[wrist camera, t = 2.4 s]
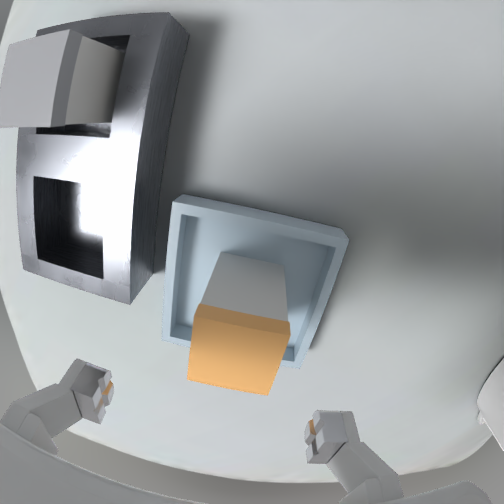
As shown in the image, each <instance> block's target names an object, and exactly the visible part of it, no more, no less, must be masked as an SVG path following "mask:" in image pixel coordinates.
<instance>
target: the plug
mask: <svg viewBox="0 0 504 504" xmlns="http://www.w3.org/2000/svg"><path fill="white" fill-rule="evenodd" d="M290 336H291V333H290V322H288V311H287V298H286V285H285V273H284V265H280V264H276V263H271V262H266V261H261V260H257V259H252V258H247V257H243V256H238V255H233V254H229V253H224V252H220V255H219V257H218V260H217V262H216V265H215V267H214V270H213V272H212V275H211V277H210V280H209V282H208V285H207V287H206V290H205V293H204V295H203V298H202V300H201V303H199V304H198V307H197V309H196V312H195V314H194V319H193V328H192V337H191V345H190V355H189V364H188V375H187V380H191V381H195V382H200V383H204V384H209V385H213V386H218V387H223V388H228V389H233V390H238V391H244V392H249V393H255V394H261V395H268V394H269V391H270V389H271V386H272V384H273V381H274V379H275V376H276V373H277V371H278V368H279V366H280V363H281V360H282V358H283V355H284V353H285V350H286V347H287V344H288V342H289V339H290Z"/></svg>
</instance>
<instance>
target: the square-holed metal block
mask: <svg viewBox="0 0 504 504" xmlns="http://www.w3.org/2000/svg"><path fill="white" fill-rule="evenodd" d="M69 29H70V30H73V31H76V32H78V33H81V34H83V36H85V37H87V38H90V39H92V40H95V41H97V42H100V43H102V44H105V45H107V46H110V47H112V48H114V49H117V50H119V51H121V52H124V53H125V58H124V62H123V66H122V70H121V75H120V80H119V85H118V90H117V95H116V100H115V106H114V112H113V118H112V123H85V124H67V125H65V126H57V127H19V130H18V143H17V165H16V194H17V216H18V229H19V240H20V248H21V256H22V263H23V269H24V270H26V271H29V272H32V273H34V274H37V275H40V276H43V277H45V278H48V279H51V280H54V281H57V282H59V283H62V284H65V285H68V286H71V287H74V288H77V289H80V290H83V291H86V292H90V293H93V294H96V295H99V296H102V297H106V298H109V299H112V300H115V301H119V302H122V303H126V304H129V305H130V304H131V303H132V301H133V300H134V299H135V297H136V296H137V295H138V293H139V292H140V291H141V289H142V288H143V286H144V285H145V284H146V282H147V281H148V280H149V278H150V277H151V276H152V274H153V260H154V246H155V233H156V222H157V212H158V203H159V194H160V186H161V178H162V170H163V163H164V157H165V150H166V144H167V138H168V132H169V126H170V120H171V115H172V110H173V104H174V99H175V94H176V90H177V85H178V80H179V76H180V72H181V67H182V63H183V59H184V55H185V51H186V47H187V43H188V39H189V34H188V32H187V31H186V30H185V29H184V28H183V27H182V26H181V25H180V24H179V23H178V22H177V21H176V20H175V19H174V17H173V16H172V15H171V14H170V13H140V14H126V15H116V16H107V17H100V18H93V19H87V20H81V21H75V22H70V23H65V24H61V25H56V26H52V27H48V28H44V29H40V30H38V31H37V34H36V37H38V36H42V35H46V34H50V33H54V32H59V31H64V30H69Z"/></svg>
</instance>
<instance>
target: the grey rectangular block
mask: <svg viewBox="0 0 504 504" xmlns="http://www.w3.org/2000/svg"><path fill="white" fill-rule="evenodd" d="M124 58H125V53H124V52H121V51H119V50H117V49H114V48H112V47H110V46H107V45H105V44H102V43H100V42H97V41H95V40H92V39H90V38H87V37H85V36H83V34H81V33H78V32H76V31H73V30H70V29H69V30H64V31H59V32H54V33H50V34H46V35H42V36H38V37H34V38H30V39H27V40H23V41H20V42H16V43H13V44H10V45H9V47H8V51H7V55H6V59H5V64H4V68H3V73H2V78H1V84H0V128H11V127H57V126H65V125H67V124H85V123H112V118H113V112H114V106H115V100H116V95H117V90H118V85H119V80H120V75H121V70H122V66H123V62H124Z"/></svg>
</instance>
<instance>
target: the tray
mask: <svg viewBox="0 0 504 504" xmlns="http://www.w3.org/2000/svg"><path fill="white" fill-rule="evenodd" d="M348 243H349V239H348V237H347V236H346V234H345V233H344V231H343V230H342V229H341V228H337V227H333V226H329V225H324V224H320V223H316V222H312V221H308V220H303V219H299V218H295V217H290V216H286V215H282V214H277V213H273V212H268V211H264V210H259V209H254V208H250V207H245V206H240V205H235V204H231V203H226V202H221V201H216V200H211V199H206V198H201V197H195V196H190V195H185V194H182V195H181V196H179V197H178V198H177V199H175V200H174V201H173V202H172V210H171V218H170V227H169V236H168V246H167V257H166V269H165V282H164V298H163V317H162V341H166V342H170V343H173V344H177V345H181V346H185V347H189V348H190V345H191V337H192V328H193V319H194V314H195V312H196V309H197V307H198V304H199V303H201V300H202V298H203V295H204V293H205V290H206V287H207V285H208V282H209V280H210V277H211V275H212V272H213V270H214V267H215V265H216V262H217V260H218V257H219V255H220V252H224V253H229V254H233V255H238V256H243V257H247V258H252V259H257V260H261V261H266V262H271V263H276V264H280V265H284V273H285V285H286V298H287V311H288V322H290V333H291V336H290V339H289V342H288V344H287V347H286V350H285V353H284V355H283V358H282V360H281V363H280V366H285V367H291V368H298V369H300V367H301V365H302V363H303V360H304V358H305V356H306V353H307V351H308V349H309V346H310V344H311V342H312V339H313V337H314V334H315V332H316V330H317V327H318V325H319V322H320V320H321V317H322V315H323V312H324V309H325V307H326V304H327V302H328V299H329V296H330V294H331V291H332V288H333V286H334V283H335V280H336V277H337V275H338V272H339V269H340V266H341V263H342V260H343V257H344V255H345V252H346V249H347V246H348Z"/></svg>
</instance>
